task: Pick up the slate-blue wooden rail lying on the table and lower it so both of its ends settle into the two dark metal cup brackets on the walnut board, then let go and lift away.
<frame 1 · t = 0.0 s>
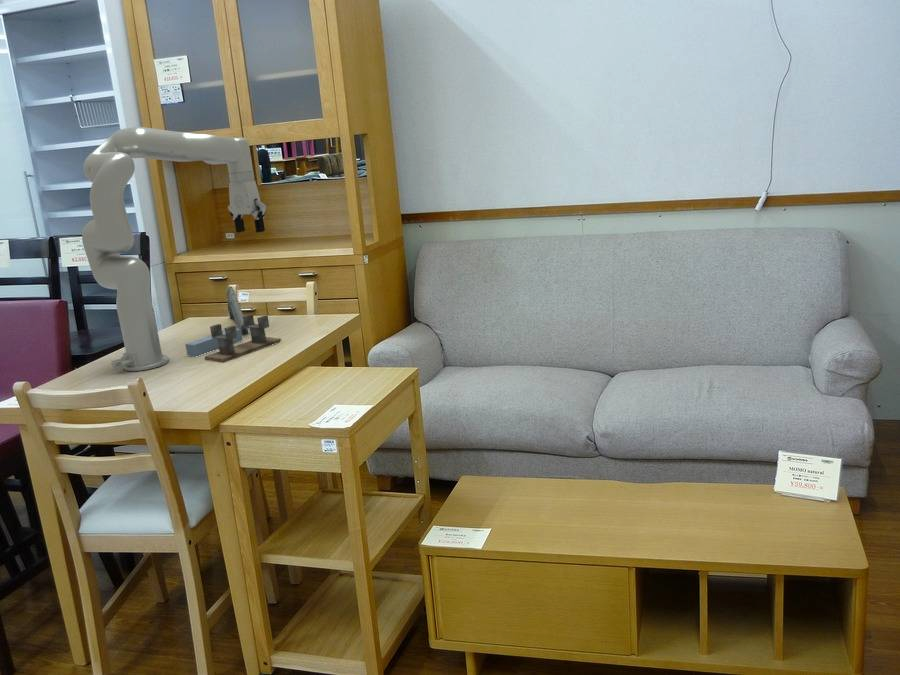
hand: (250, 231, 260), 31 cm above the table, tool pointing down, fingers open, 9 cm apart
rail: (215, 349, 246), on the table
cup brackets: (244, 350, 239), on the table
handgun: (238, 327, 272), on the table
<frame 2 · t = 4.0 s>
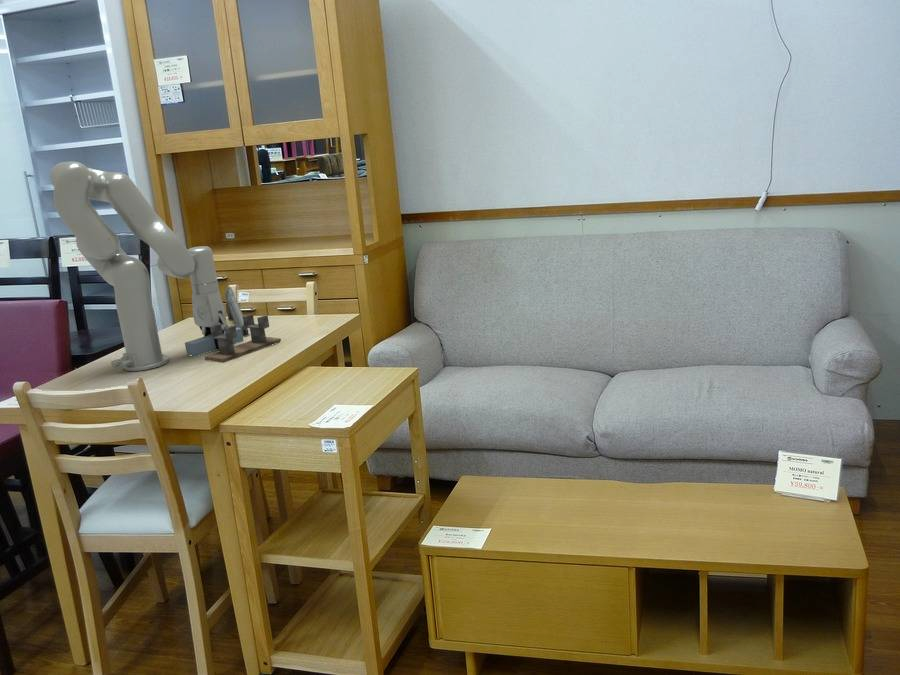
hand: (215, 346, 246), 0 cm above the table, tool pointing down, fingers closed on rail, 4 cm apart
rail: (216, 348, 246), on the table, touching gripper
when the fingers open (8 cm above the table, at t = 7.6 s): rail drops 1 cm, resting on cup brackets.
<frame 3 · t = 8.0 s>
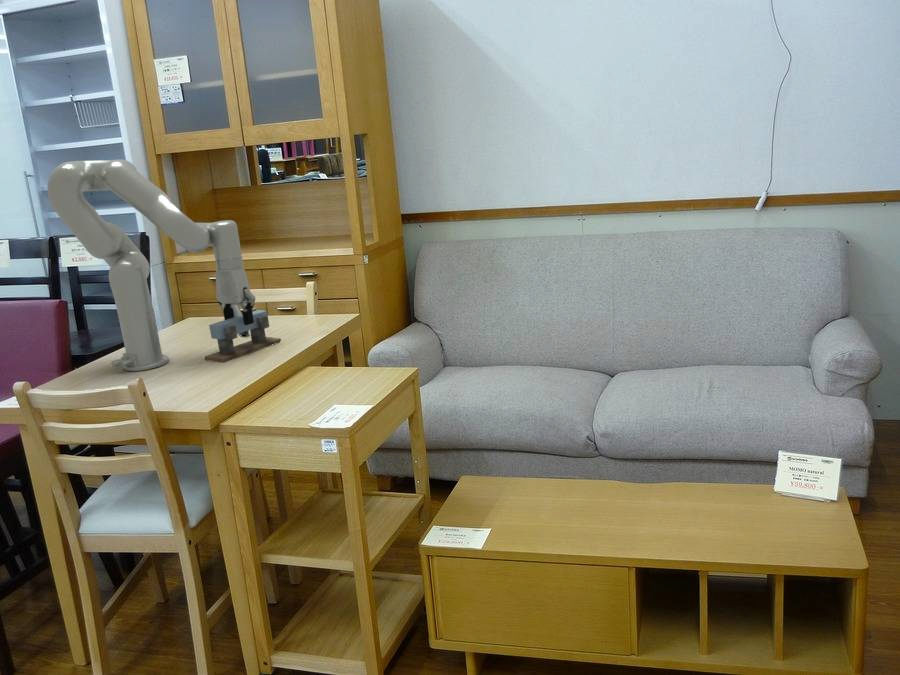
hand: (239, 322, 237), 8 cm above the table, tool pointing down, fingers open, 8 cm apart
rail: (240, 330, 238), point 6 cm above the table, touching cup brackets
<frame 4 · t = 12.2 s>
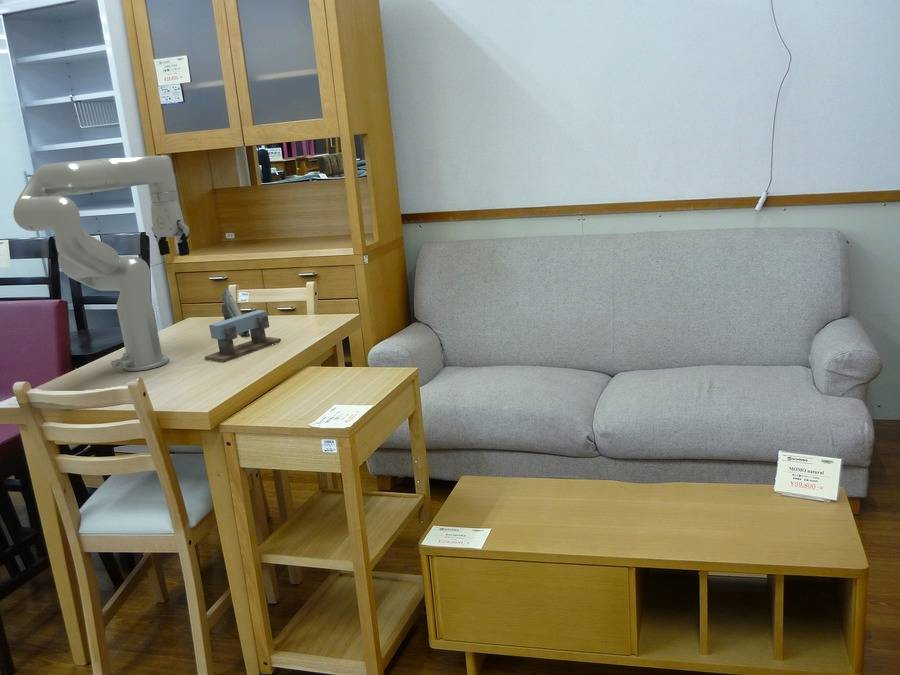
hand: (174, 254, 245), 28 cm above the table, tool pointing down, fingers open, 9 cm apart
at the end: rail 0.0 cm off-centre on the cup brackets, point 6.0 cm above the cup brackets's base; rail tilted 0°; the gripper is holding nothing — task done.
